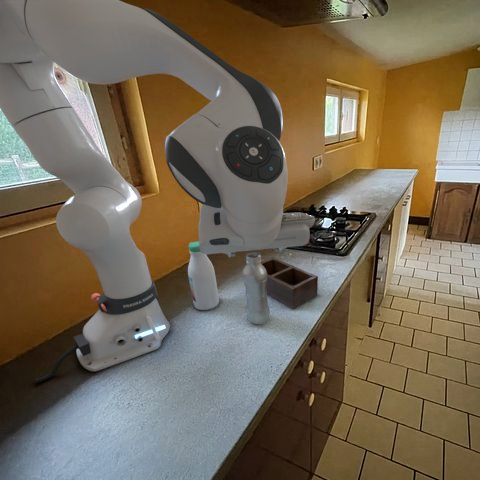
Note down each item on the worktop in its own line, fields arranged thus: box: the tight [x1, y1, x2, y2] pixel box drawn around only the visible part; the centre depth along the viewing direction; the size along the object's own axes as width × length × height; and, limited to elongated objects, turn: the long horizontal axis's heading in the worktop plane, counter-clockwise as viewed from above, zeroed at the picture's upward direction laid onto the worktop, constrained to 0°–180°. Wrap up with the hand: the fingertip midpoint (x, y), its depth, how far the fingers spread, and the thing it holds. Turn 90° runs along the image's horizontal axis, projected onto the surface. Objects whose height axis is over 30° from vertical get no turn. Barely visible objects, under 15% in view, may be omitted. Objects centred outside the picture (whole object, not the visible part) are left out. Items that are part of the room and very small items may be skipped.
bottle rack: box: [261, 257, 319, 310], centre depth 97 cm, size 11×21×7 cm, turn 42°
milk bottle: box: [187, 240, 220, 311], centre depth 89 cm, size 8×8×20 cm
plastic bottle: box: [241, 251, 271, 325], centre depth 80 cm, size 6×7×20 cm
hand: (254, 251), depth 62 cm, fingers open, 8 cm apart
